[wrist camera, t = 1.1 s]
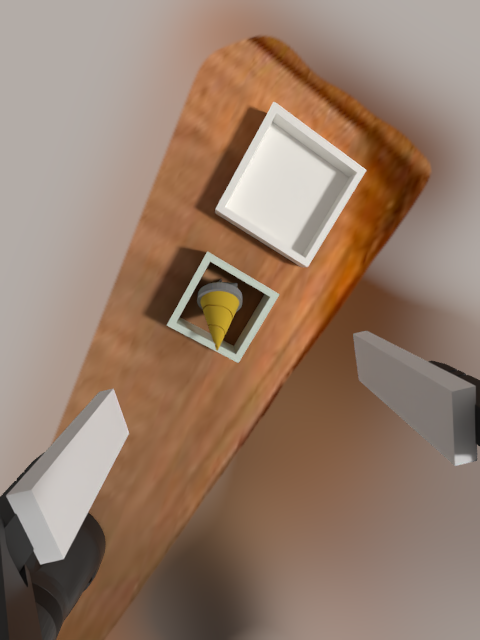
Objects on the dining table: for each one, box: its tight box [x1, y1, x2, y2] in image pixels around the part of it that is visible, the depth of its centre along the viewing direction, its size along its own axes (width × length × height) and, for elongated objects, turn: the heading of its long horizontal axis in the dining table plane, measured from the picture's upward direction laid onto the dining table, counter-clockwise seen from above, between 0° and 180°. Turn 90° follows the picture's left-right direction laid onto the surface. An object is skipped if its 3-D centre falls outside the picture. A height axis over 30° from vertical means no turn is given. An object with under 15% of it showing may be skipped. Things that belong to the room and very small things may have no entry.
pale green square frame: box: [167, 252, 280, 363], centre depth 34 cm, size 10×10×4 cm
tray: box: [215, 102, 366, 267], centre depth 33 cm, size 13×13×2 cm
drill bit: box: [197, 279, 242, 351], centre depth 33 cm, size 5×5×10 cm
